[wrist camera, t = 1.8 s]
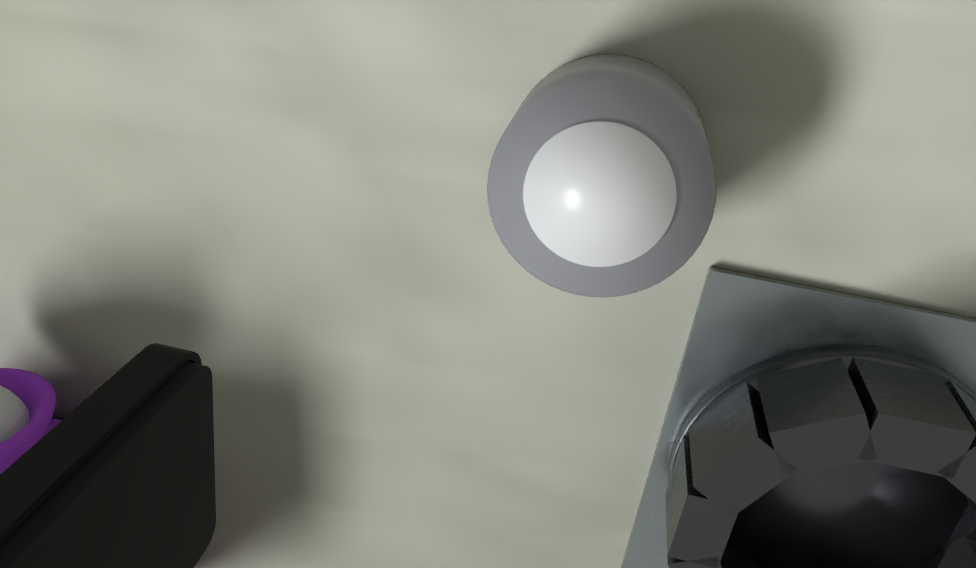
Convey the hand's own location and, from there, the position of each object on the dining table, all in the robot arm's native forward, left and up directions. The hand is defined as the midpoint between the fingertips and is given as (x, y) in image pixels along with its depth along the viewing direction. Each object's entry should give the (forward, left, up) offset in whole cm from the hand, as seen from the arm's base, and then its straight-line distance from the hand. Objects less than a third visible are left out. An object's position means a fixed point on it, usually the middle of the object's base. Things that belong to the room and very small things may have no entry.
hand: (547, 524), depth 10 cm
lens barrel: (+10, +10, -16) cm, 21 cm away
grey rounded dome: (0, 0, -16) cm, 16 cm away
